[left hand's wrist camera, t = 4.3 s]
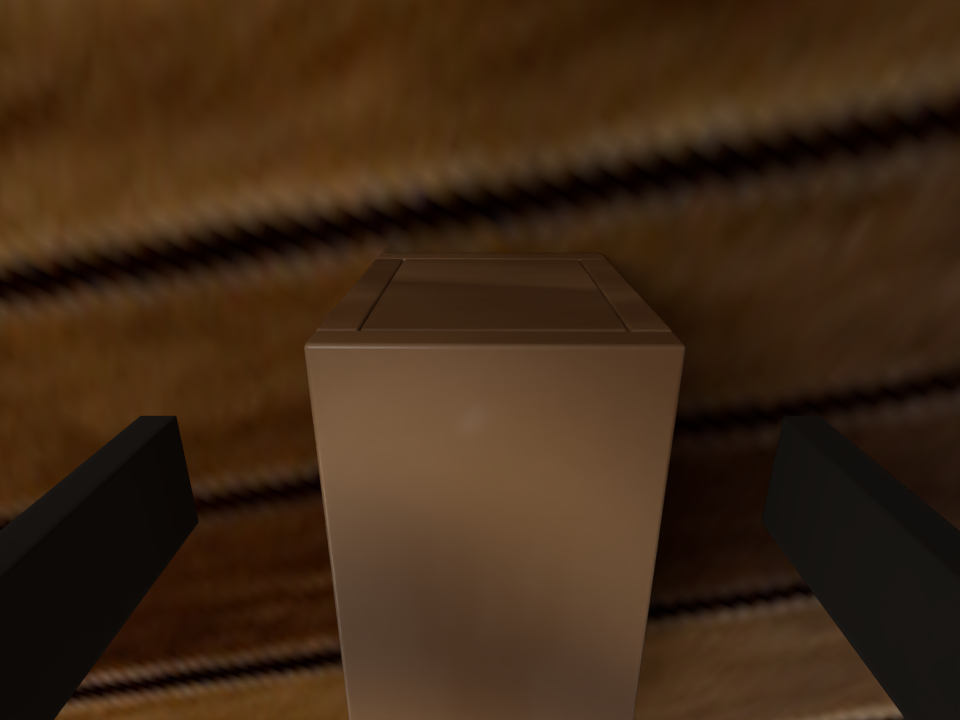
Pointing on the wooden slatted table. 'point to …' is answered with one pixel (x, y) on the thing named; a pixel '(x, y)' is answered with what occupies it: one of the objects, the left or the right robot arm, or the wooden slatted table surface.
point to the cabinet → (493, 483)
